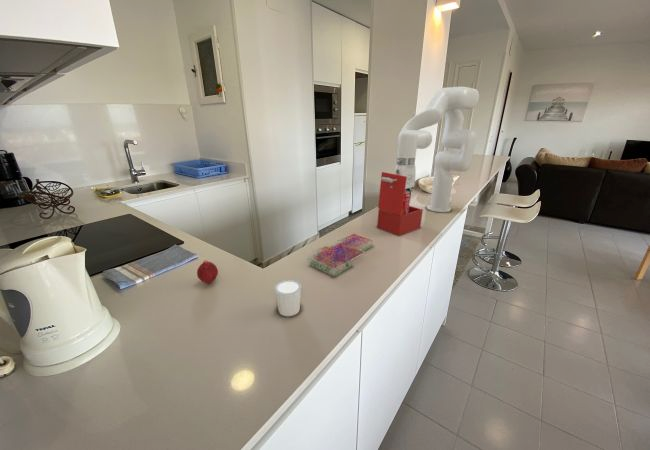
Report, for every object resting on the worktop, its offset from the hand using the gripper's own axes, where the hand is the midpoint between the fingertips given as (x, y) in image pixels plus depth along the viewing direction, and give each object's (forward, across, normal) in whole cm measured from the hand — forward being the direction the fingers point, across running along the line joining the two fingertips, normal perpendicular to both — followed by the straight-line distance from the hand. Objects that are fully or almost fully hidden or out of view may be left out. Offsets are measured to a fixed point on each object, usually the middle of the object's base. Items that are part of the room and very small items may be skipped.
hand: (401, 201), depth 124 cm
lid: (-5, -7, 0) cm, 9 cm away
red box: (+12, 0, 0) cm, 12 cm away
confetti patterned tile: (+13, -39, -5) cm, 41 cm away
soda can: (+8, 0, 0) cm, 8 cm away
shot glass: (+13, -71, -20) cm, 75 cm away
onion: (+13, -84, +6) cm, 85 cm away
